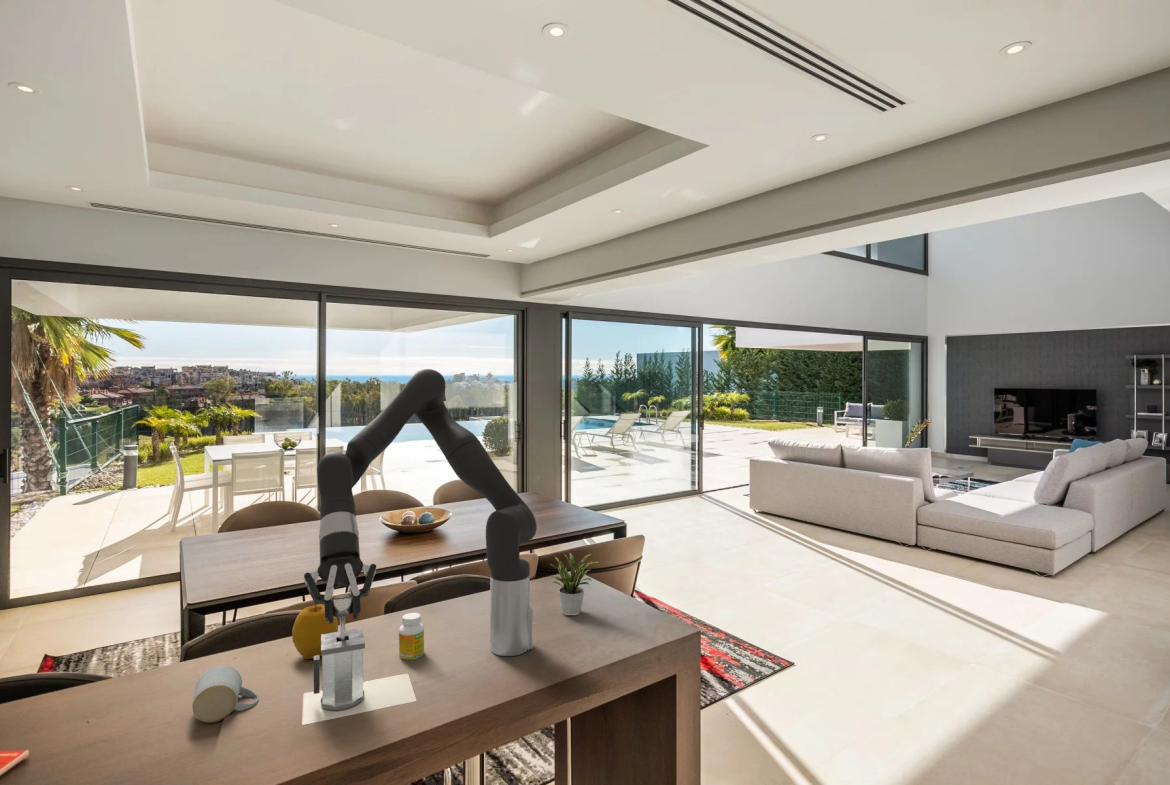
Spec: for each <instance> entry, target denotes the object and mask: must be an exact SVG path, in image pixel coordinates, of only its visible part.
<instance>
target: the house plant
mask: <svg viewBox="0 0 1170 785" xmlns="http://www.w3.org/2000/svg"><path fill="white" fill-rule="evenodd" d="M562 553H563V555H564V557H566V559H567V561H568V565H569V572H570V573H569V572H568V570H567V567H566V566H565V564H564V563H563V562H562V561H561V560H560V559H559V558H558V557H556V556H554V558H555V560H556V561H557V563H558V567H556V566H555V565H554V564H552V563H550V565H551V566H553V567H555V568H556V569H557V570H558V573H556V575H557V576H556V575H551V577H552V578H554V579H556V580H558V581H559V582H558V581H552V582H551V584H555V585H556V584H557V585H559V586H561V587H559V588H558V597H559V603H560V610H561V614H562V613H564V614H577V613H580V612H581V613H582V606H583V599H584V593H585V588H583V587H581V586H580V585H589V586H590V583H589V582H587V581H590V582H591V583H593V582H592V578H590V577H585V578H583V577H584V576H585V575H586V574H587V573H588V572H589V571H590V569H587V570H586V568H587V567H588V566H590V565H591V564H594V563H596V564H597V563H598V561H593V560H591V561H588V562H587V563H584V562H585V561H586V560H587V558H588V557H589V556H592V553H590V554H587V555H585V556H584V557H583V558H582V559H581V560H580V561H579V562H578V563H577V566H576V563H575V558H574V556H573V555H572V553H571V552H569V556H568V555H566V554H565V552H562ZM575 566H576V567H575ZM575 568H576V569H575ZM558 575H559V576H560V577H558ZM560 582H561V583H562V584H561V583H560ZM581 613H580V614H581Z"/></svg>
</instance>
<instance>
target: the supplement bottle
mask: <svg viewBox="0 0 1170 785" xmlns="http://www.w3.org/2000/svg"><path fill="white" fill-rule="evenodd" d="M421 617H422V616H421V614H420V613H418V612H409V613H405V614H404V615H403V616H402V620H401V623H402V625H400V627H399V630H398V631H399V632H398V645H399V646H398V649H399V651H398V657H399V658H400V659H401V660H405V661H409V660H416V659H419V658H421V657H422V656H423V655H424V654H425V628H424V625H423V623H422V622H421V620H422V618H421Z"/></svg>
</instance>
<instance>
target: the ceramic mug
mask: <svg viewBox="0 0 1170 785" xmlns="http://www.w3.org/2000/svg"><path fill="white" fill-rule="evenodd" d="M240 673H241V672H239V670H237V669H236V668H235V667H233V666H231V665H225V664H223V665H222V664H221V665H216V666H213V667H211V668H209V669H207V670H206V671H204V672H203V673H202V674H201V675H200V677H199V678H198V680H197V682H196V684H195V685H196V686H195V689H194V694H193V698H192V713H193V715H194V716H195V718H196V719H197V720H199V721H200V722H202V723H207V724H208V723H210V724H211V723H217V722H221V721H222V720H224V719H225V717H228V716H230V715H231V713H232V712H233V711H237V712H241V711H245V710H248V709H250V708H252V707H254V706H255V705H257V704H258V702H259V700H260V698H259V697H260V696H259V695H258V693H256V691H253V690H251V689H249V688H248V687H244V686H242V684H243V680H242V675H241V674H240ZM239 697H244V698H252V699H254V702H252V703H246V702H245V703H244V702H239Z"/></svg>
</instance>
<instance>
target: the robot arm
mask: <svg viewBox="0 0 1170 785" xmlns="http://www.w3.org/2000/svg"><path fill="white" fill-rule="evenodd" d="M446 388H447V387H446V379H445V377H444V376H443V374H441V373H440V372H439V371H437V370H434V369H433V368H431V369H430V368H426V369H421V370H418V371H417V372H415V373H414V374H413V375H412V376H411V377H410V379H409V380H408V381H407V382H406V384H405V385H404V386H403V388H401V389H400V391H399V393H397V395H395V397H394V398H393V399H392V400H391V401H390V402H389V404H388V405H387V406H385V408H384V409H383V410H382V411H381V412H380V413H379V414H378V415H376V416H375V417H374V418H373V419H372V420H371V421H370V422H369V423H368V424H367V425H366V426H364V428H362V429H361V430H360V431H358V433H357V434H355V435H354V436H353V437H352V438H351V439H350V440H349V441H348V442H347V445H346V450H345V453H342V452H340V451H331V452H328V453H326V454H325V455H323V456H322V457H321V458H320V459H319V462H317V463H318V464H317V468H316V470H317V474H316V475H317V483H318V490H319V496H320V505H319V515H320V516H319V518H320V523H319V529H318V531H319V534H318V541H319V566H318V567H317V570H315V571H312V572H311V573H310V572H306V573H304V575H303V581H304V584H305V586H306V588H307V590H308V592H309V594H310V596H311V599H312V601H313V603H314V605H317V604H323V605H324V606H325V620H326V621H329V624H331V623H333V600H332V599H333V595H334V593H335V589H337V588H341V587H348V591H349V593H350V595H352V608H353V612H352V620H358V617H359V616H360V615H361V612H362V611H361V609H362V608H361V607H362V606H361V600H362V598H366V597H368V596H369V594H370V590H371V588H372V584H373V582H374V578H375V575H376V572H377V565H376V564H375V563H371V564H370V565H368V564H365V563H363V561H362V560H361V553H360V552H361V551H360V541H359V538H360V537H359V534H360V532H359V526H358V522H357V516H356V515H357V514H356V511H357V510H356V503H355V498H354V494H353V493H354V492H353V488H354V487H355V486H356V485H357V483H358V482H359V481H360V480H361V478H362V477H363V476H364V474H365V473H366V471H367V470H368V468H369V466H370V465H371V464H372V462H373V461H374V460H376V459H377V458H378V457H379V455H381V454H382V453H383V452H384V451H385V450H386V449H387V448H388V447H389V446H390V445H391V444H392V442H393V441H394V440H395V439H396V438H397V436H398V435H399V433H400V432H401V430H403V428H404V426H405V425H406V424H407V423H408V421H409V420H410V418H412V416H413V415H414V414H415V416H416V417H417V418H418V420H419V421H420V422H421V423H422V424H423V425H424V427H425V429H427V431H428V432H429V433H430V435H431V436H432V438H433V439H434V441H435V443H436V445H437V447H438V448H439V449H440V451H441V453H442V454H443V456H444V458H445V459H446V461H447V462H448V464H449V466H450V468H451V469H452V470H453V473H455V475H456V476H457V478H459V480H460V481H462V482H463V483H464V484H465V485H467V486H468V487H469V488H471V489H473V490H474V491H475V492H477V493H478V494H480V495H481V496H483V497H484V498H485V499H486V500H487V501H488V502H489V503H490V504H491V506H492V507H493V508H494V510H495V511H493V512H492V513H490V515H489V516H488V518H487V520H486V524H485V548H486V561H487V566H488V569H489V572H490V576H489V577H490V579H489V580H490V584H489V585H490V586H489V588H490V591H489V592H490V596H489V597H490V598H489V600H490V603H489V604H490V605H489V606H490V611H489V612H490V614H489V616H490V619H489V620H490V633H489V634H490V639H489V642H490V651H491V652H492V653H493V654H494V655H497V656H501V657H502V656H503V657H513V656H519V655H522V654H525V653H526V652H527V650H528V651H531V650H533V646H534V645H533V644H534V643H533V641H534V638H533V636H534V630H533V629H534V628H533V626H534V624H533V620H534V619H533V617H534V616H533V615H534V614H533V613H534V610H533V608H532V607H531V598H530V597H531V592H530V591H531V590H530V588H531V581H530V580H531V578H530V576H531V568H530V567H531V566H530V563H529V562H528V560H526V559H523V558H520V550H519V549H520V548H519V546H520V545H523V544H525V543H527V542H529V541H530V540H532V539H533V538H534V537H535V536H536V534H537V529H538V528H537V521H536V517H535V515H534V513H533V511H532V510H531V509H530V507H529V506H528V505H527V504H526V503H525V501H524V500H523V499H522V498H521V497H520V495H519V494H518V493H517V492H516V491H515V489H513V487H512V486H511V484H509V482H508V481H507V479H506V478H505V476H504V474H502V472H501V471H500V469H499V468H498V466H497V465H496V464H495V462H494V461H493V460H492V458H491V456H490V455H489V453H488V451H487V450H486V448H485V447H484V446H483V444H482V443H481V441H480V440H479V439H478V437H477V436H476V435H475V434H474V433H473V432H471V430H469V429H467V428H465V427H464V426H463V425H460V424H459V423H458V422H457V421H456V420H455V419H454V418H453V416H452V415H451V413H450V412H449V410H448V408H447V407H446V405H445V402H444V397H445V393H446ZM361 572H363V575H364V577H365V581H364V583H363V587H362V588H359V587H358V583H357V578H358V577H359V575H360V574H361ZM318 577H319V579H321V580H322V581H323V582H324V583H325V584H326V588H325V593H324V594H323V593H321V592H320V590H319V588H318V586H317V582H318ZM530 649H531V650H530ZM524 652H525V653H524Z"/></svg>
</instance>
